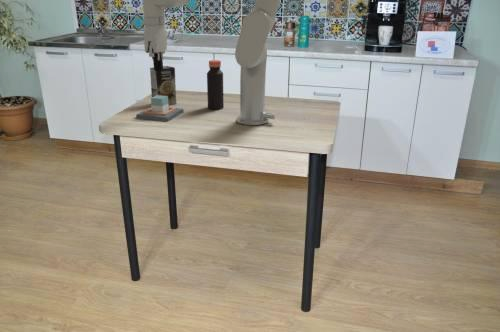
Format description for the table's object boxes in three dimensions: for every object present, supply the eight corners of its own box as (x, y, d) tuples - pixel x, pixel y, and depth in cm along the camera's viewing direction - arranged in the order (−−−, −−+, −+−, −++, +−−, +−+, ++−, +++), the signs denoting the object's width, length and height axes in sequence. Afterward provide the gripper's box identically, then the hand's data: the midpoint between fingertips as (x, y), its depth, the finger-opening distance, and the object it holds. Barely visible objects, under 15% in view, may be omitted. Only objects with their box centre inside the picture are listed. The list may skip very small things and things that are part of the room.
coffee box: (159, 107, 204) (156, 69, 197) (151, 104, 208) (149, 67, 202) (177, 103, 209) (175, 67, 203) (169, 101, 214) (167, 65, 207)
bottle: (221, 110, 199) (220, 62, 192) (206, 109, 200) (204, 62, 193) (225, 106, 205) (224, 60, 198) (210, 105, 206) (208, 59, 199)
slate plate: (183, 112, 196) (183, 106, 195) (168, 121, 183) (167, 115, 182) (153, 109, 200) (153, 104, 199) (136, 118, 187) (136, 112, 186)
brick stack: (168, 110, 192) (167, 96, 190) (163, 113, 188) (162, 98, 186) (157, 109, 194) (156, 95, 192) (151, 112, 189) (150, 97, 187)
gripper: (155, 20, 186) (159, 66, 192) (135, 23, 172) (140, 73, 179) (172, 20, 183) (175, 67, 190) (153, 23, 170) (158, 74, 177)
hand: (158, 70), depth 185 cm, fingers closed
